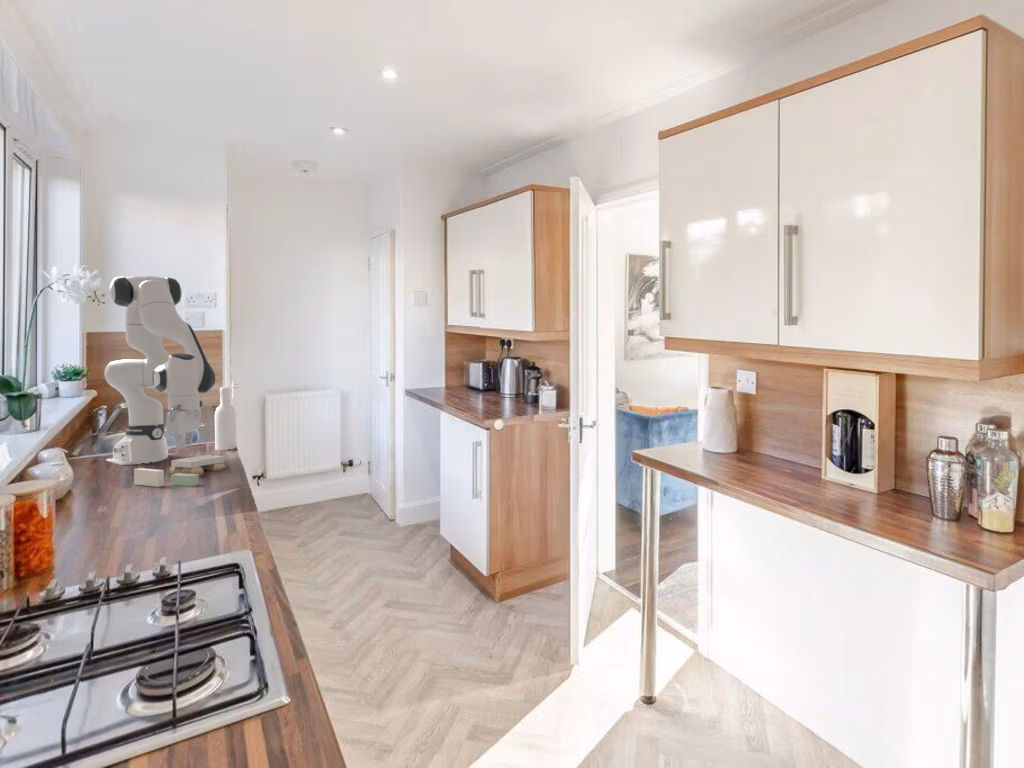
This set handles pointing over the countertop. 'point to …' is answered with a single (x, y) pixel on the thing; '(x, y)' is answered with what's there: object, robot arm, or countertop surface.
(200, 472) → the rail
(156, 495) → the countertop surface
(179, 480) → the block
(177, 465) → the stone slab
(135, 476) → the block
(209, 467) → the rail
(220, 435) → the bottle
